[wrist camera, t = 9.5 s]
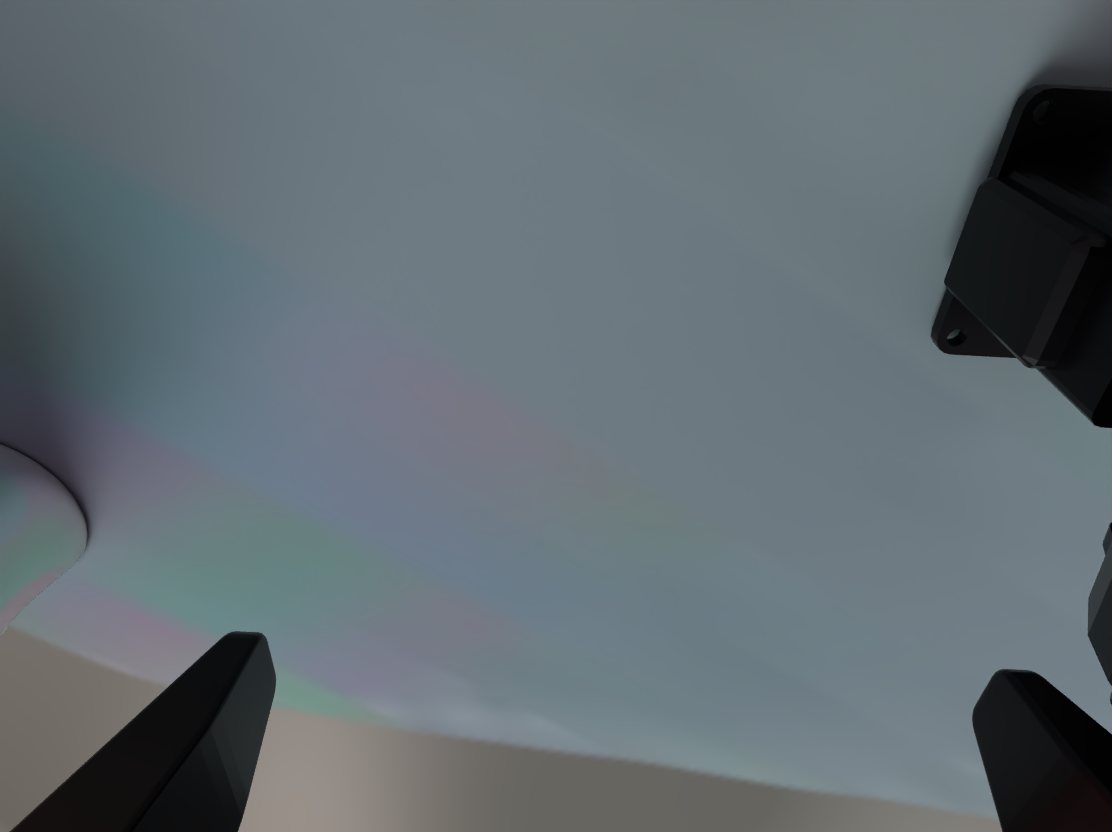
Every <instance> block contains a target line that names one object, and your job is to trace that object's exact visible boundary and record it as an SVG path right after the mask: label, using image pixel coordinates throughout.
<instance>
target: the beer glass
mask: <svg viewBox="0 0 1112 832" xmlns="http://www.w3.org/2000/svg"><path fill="white" fill-rule="evenodd" d="M86 543H87V525H86V521H85V518H84V515H83V513H82V511H81V509H80V507H79V505H78V503H77V502H76V500H75V499H74V497H73V496H72V494H71V493H70V492H69V491H68V489H67V488H66V487H65V486H64V485H63V484H62V483H61V482H60V481H59V480H58V479H57V478H56V477H55V476H54V475H53V474H51V473H50V472H49V471H48V470H46V469H45V468H44V467H42V466H41V465H40V464H38V463H37V462H35V461H33V460H32V459H30V458H29V457H27V456H25V455H23V454H21V453H19V452H17V451H15V450H13V449H11V448H9V447H6V446H4V445H1V444H0V636H1V635H2V633H3V632H4V631H5V629H6V628H7V627H8V626H9V625H10V624H11V622H12V621H13V620H14V619H15V618H16V617H17V615H18V614H19V613H20V612H21V611H22V610H23V609H24V608H25V607H26V606H27V605H28V604H29V603H30V602H31V601H32V600H34V599H35V598H36V597H37V596H38V595H39V594H40V593H42V592H43V591H44V590H45V589H46V588H48V587H49V586H50V585H51V584H52V583H54V582H55V581H56V580H57V579H59V578H60V577H61V576H62V575H63V574H65V573H66V572H67V571H68V570H69V569H71V567H72V566H73V565H74V564H75V563H76V562H77V561H78V560H79V559H80V557H81V556H82V554H83V552H84V550H85V547H86Z"/></svg>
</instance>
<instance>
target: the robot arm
mask: <svg viewBox="0 0 1112 832" xmlns="http://www.w3.org/2000/svg"><path fill="white" fill-rule="evenodd" d="M1044 101H1048V103H1049V104H1048V110H1047V111H1046V113H1045V114H1044V116H1042V117H1041V118H1039V119H1038V120H1034V119H1033V114H1034V111H1035V109H1036V108H1037V106H1038V105H1039V104H1041V103H1042V102H1044ZM944 283H945V285H946V286H947V290H946V292H945V295H944V298H943V300H942V303H941V306H940V308H939V311H938V314H937V317H936V319H935V322H934V325H933V327H932V331H931V338H932V340H933V342H934V343H935V345H936V346H937V347H938V348H939V349H940V350H941V351H942V352H944V353H947V354H953V355H971V356H990V357H1008V358H1017V359H1018V360H1019V361H1020V362H1021V363H1022V364H1023V365H1024V366H1026V367H1028V368H1036V369H1037V370H1038V371H1039V372H1040V373H1041V374H1042V375H1043V376H1044V377H1045V378H1046V379H1047V380H1048V381H1049V382H1051V383H1052V384H1053V385H1054V386H1055V387H1056V388H1057V389H1058V390H1059V391H1060V392H1061V393H1062V394H1063V395H1064V396H1065V397H1066V398H1067V399H1068V400H1069V401H1070V402H1071V403H1072V404H1073V405H1074V406H1075V407H1076V408H1077V409H1078V410H1079V411H1080V412H1081V413H1082V414H1084V415H1085V416H1086V417H1087V418H1088V419H1089V420H1090V421H1091V422H1092V423H1093V424H1094V425H1096V426H1099V427H1104V428H1112V88H1099V87H1082V86H1065V85H1047V84H1045V85H1038V86H1035V87H1033V88H1031V89H1029V90H1027V91H1026V92H1025V93H1024V94H1023V95H1022V96H1021V97H1020V98H1019V99H1018V101H1017V102H1016V104H1015V106H1014V108H1013V111H1012V113H1011V116H1010V119H1009V122H1008V124H1007V127H1006V130H1005V132H1004V135H1003V138H1002V141H1001V143H1000V146H999V149H998V151H997V154H996V157H995V160H994V162H993V165H992V168H991V170H990V173H989V176H988V178H987V180H986V181H985V182H983V183H982V184H981V185H980V186H979V187H978V189H977V192H976V195H975V198H974V200H973V203H972V206H971V209H970V211H969V214H968V217H967V219H966V222H965V225H964V228H963V230H962V233H961V236H960V239H959V241H958V244H957V247H956V250H955V252H954V255H953V258H952V261H951V263H950V266H949V269H948V272H947V274H946V277H945V280H944ZM960 328H961V331H960V332H959V334H958V335H957V336H955V337H954V338H951V339H947V336H948V335H949V334H950V332H952V331H953V330H955V329H960ZM1103 548H1104V551H1105V555H1106V556H1105V558H1104V561H1103V563H1102V566H1101V568H1100V571H1099V573H1098V576H1097V578H1096V581H1095V583H1094V586H1093V588H1092V591H1091V593H1090V596H1089V602H1088V637H1089V639H1090V641H1091V643H1092V646H1093V648H1094V650H1095V652H1096V655H1097V657H1098V659H1099V661H1100V664H1101V666H1102V668H1103V670H1104V673H1105V675H1106V677H1107V679H1108V681H1109V683H1110V684H1111V686H1112V523H1110V525H1109V528H1108V530H1107V533H1106V535H1105V538H1104V540H1103ZM275 687H276V675H275V670H274V666H273V662H272V658H271V654H270V650H269V646H268V642H267V639H266V637H265V636H264V635H263V634H262V633H259V632H240V631H235V632H230V633H228V634H226V635H225V636H223V637H222V638H221V639H220V640H219V641H218V642H217V643H216V644H215V645H213V646H212V647H211V648H210V649H209V650H208V651H207V652H206V653H205V654H204V655H203V656H201V657H200V658H199V659H198V660H197V661H196V662H195V663H194V664H193V665H192V666H191V667H189V668H188V669H187V670H186V671H185V672H184V673H183V674H182V675H181V676H180V677H178V678H177V679H176V680H175V681H174V682H173V683H172V684H171V685H170V686H169V687H168V688H166V689H165V690H164V691H163V692H162V693H161V694H160V695H159V696H158V697H157V698H155V699H154V700H153V701H152V702H151V703H150V704H149V705H148V706H147V707H146V708H145V709H143V710H142V711H141V712H140V713H139V714H138V715H137V716H136V717H135V718H134V719H133V720H132V721H130V722H129V723H128V724H127V725H126V726H125V727H124V728H123V729H122V730H120V731H119V732H118V733H117V734H116V735H115V736H114V737H113V738H112V739H111V740H110V741H108V742H107V743H106V744H105V745H104V746H103V747H102V748H101V749H100V750H99V751H97V752H96V753H95V754H94V755H93V756H92V757H91V758H90V759H89V760H88V761H87V762H85V763H84V764H83V765H82V766H81V767H80V768H79V769H78V770H77V771H76V772H75V773H74V774H72V775H71V776H70V777H69V778H68V779H67V780H66V781H65V782H64V783H63V784H61V785H60V786H59V787H58V788H57V789H56V790H55V791H54V792H53V793H52V794H50V795H49V796H48V797H47V798H46V799H45V800H44V801H43V802H42V803H41V804H39V805H38V806H37V807H36V808H35V809H34V810H33V811H32V812H31V813H30V814H29V815H27V816H26V817H25V818H24V819H23V820H22V821H21V822H20V823H19V824H18V825H17V826H16V827H14V828H13V829H12V830H11V831H10V832H238V830H239V827H240V824H241V821H242V818H243V814H244V811H245V807H246V803H247V800H248V796H249V792H250V788H251V784H252V780H253V776H254V772H255V768H256V765H257V761H258V757H259V753H260V749H261V745H262V741H263V737H264V733H265V729H266V725H267V721H268V717H269V714H270V710H271V706H272V702H273V698H274V694H275ZM1110 702H1111V704H1112V692H1111V697H1110ZM972 721H973V728H974V732H975V736H976V739H977V743H978V747H979V750H980V754H981V757H982V761H983V764H984V768H985V771H986V775H987V778H988V782H989V786H990V789H991V793H992V796H993V800H994V803H995V807H996V810H997V814H998V817H999V821H1000V825H1001V828H1002V832H1112V734H1111V733H1109V732H1108V731H1107V730H1106V729H1105V728H1103V727H1102V726H1101V725H1100V724H1099V723H1097V722H1096V721H1095V720H1094V719H1093V718H1091V717H1090V716H1089V715H1088V714H1087V713H1085V712H1084V711H1083V710H1082V709H1080V708H1079V707H1078V706H1077V705H1076V704H1074V703H1073V702H1072V701H1071V700H1070V699H1068V698H1067V697H1066V696H1065V695H1064V694H1062V693H1061V692H1060V691H1059V690H1058V689H1056V688H1055V687H1054V686H1053V685H1052V684H1050V683H1049V682H1048V681H1047V680H1046V679H1044V678H1043V677H1042V676H1040V675H1039V674H1037V673H1035V672H1033V671H1028V670H1013V669H1001V670H999V671H997V672H996V673H995V674H994V675H993V676H992V678H991V680H990V681H989V683H988V685H987V686H986V688H985V690H984V691H983V693H982V695H981V697H980V698H979V700H978V702H977V703H976V705H975V707H974V710H973V716H972Z"/></svg>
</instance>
